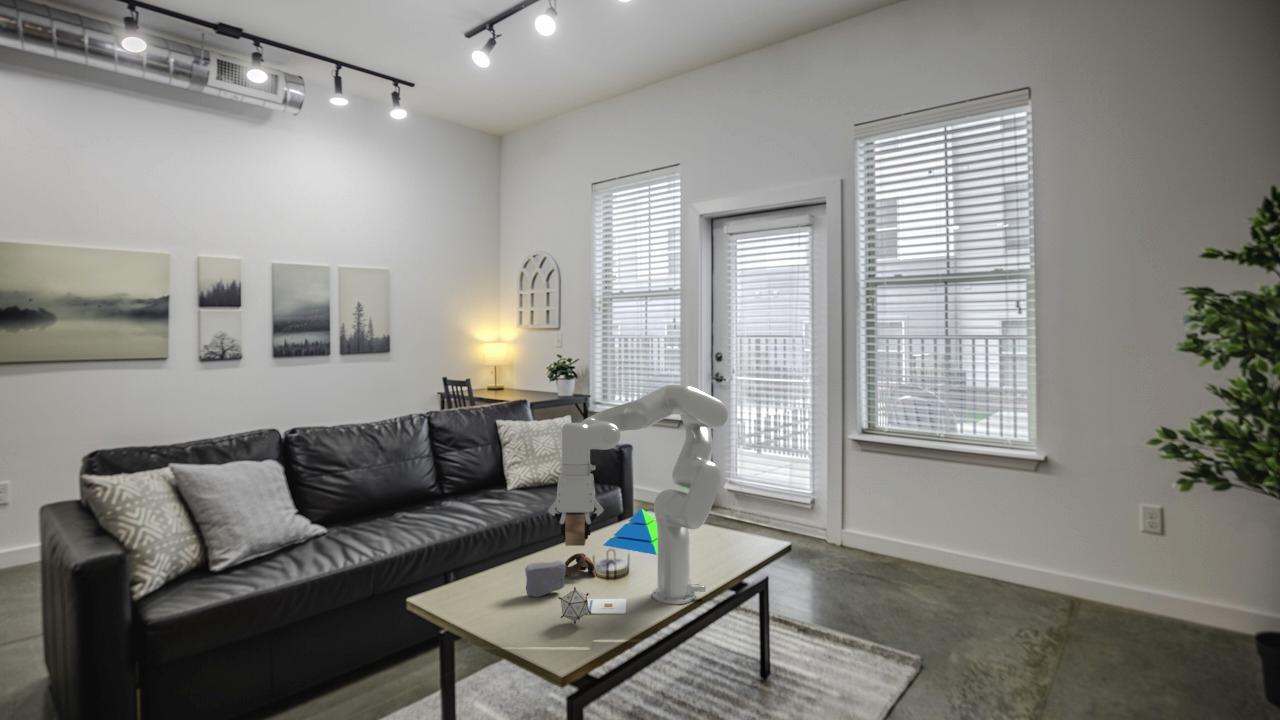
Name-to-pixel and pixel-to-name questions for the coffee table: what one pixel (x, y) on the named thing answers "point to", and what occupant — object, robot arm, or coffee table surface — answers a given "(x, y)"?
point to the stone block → (544, 577)
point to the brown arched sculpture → (579, 564)
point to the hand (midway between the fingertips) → (575, 537)
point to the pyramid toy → (637, 534)
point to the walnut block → (575, 529)
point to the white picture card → (607, 606)
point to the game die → (574, 605)
